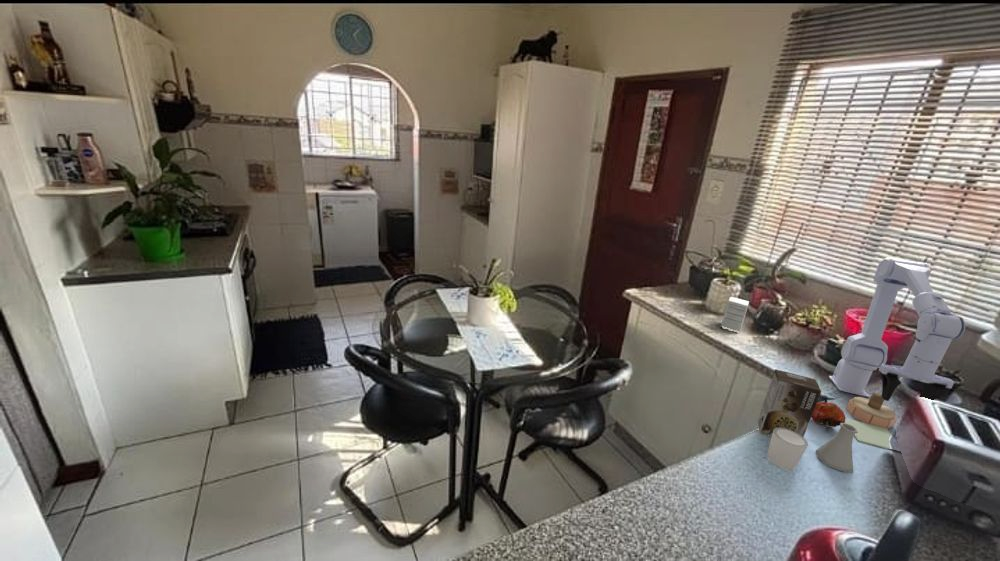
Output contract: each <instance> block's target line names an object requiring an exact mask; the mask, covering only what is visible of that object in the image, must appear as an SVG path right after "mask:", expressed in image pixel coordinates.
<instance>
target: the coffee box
mask: <svg viewBox="0 0 1000 561" xmlns="http://www.w3.org/2000/svg"><path fill="white" fill-rule="evenodd" d="M821 394H822V390H821V388H820V385H819V384H818V382H817V380H816V379H814V378H811V377H808V376H803V375H800V374H797V373H796V374H795V373H792V372H787V371H783V370H780V369H774V372H773V375H772V378H771V381H770V383H769V386H768V390H767V391H766V395H765V398H764V400H763V403H762V405H761V409H760V412H759V414H758V417H757V426H758V430H760V431H759V433H760V434H762V435H765V434H766V435H765V436H768V435H769V436H768V437H771V436H772V433H773V430H774V429H775V428H786V429H789V430H792V431H794V432H796V433H798V434H799V435H801V436H802V437H804V438H805V435H806V432H807V429H808V428H809V427H808V426H809V424H810V421H811V419H812V418H811V416H812V414H813V411H814V409H815V406H816V404H817V403H818V401H819V398H820V396H821Z"/></svg>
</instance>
